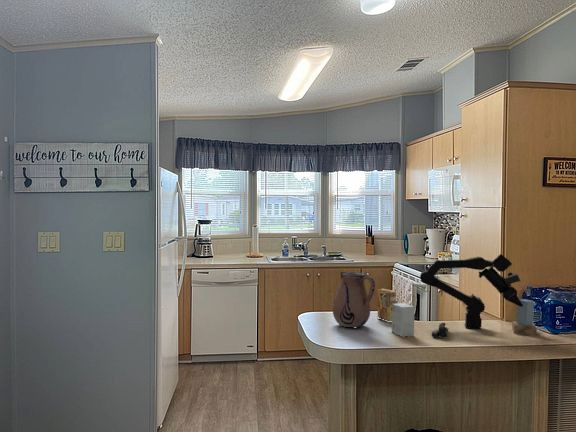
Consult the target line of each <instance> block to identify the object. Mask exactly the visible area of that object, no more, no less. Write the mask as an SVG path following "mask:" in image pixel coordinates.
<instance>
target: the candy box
mask: <svg viewBox="0 0 576 432" xmlns="http://www.w3.org/2000/svg"><path fill="white" fill-rule="evenodd" d="M393 304H397V291H396V290H391V289H387V288H379V289H377V318H378V317H379V318H381V319H384V320H387V321H392V306H393Z"/></svg>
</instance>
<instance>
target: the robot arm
mask: <svg viewBox="0 0 576 432" xmlns="http://www.w3.org/2000/svg"><path fill="white" fill-rule="evenodd" d="M512 265H513V263H512V262H511V261H510V259H508V258H506V257H505V256H504V254H503V253H500V254H499V255H498V256H496V257H495V259H493V260H487V259H485V258H483V257H482V256H475V257H470V258H466V259H465V258H464V259H444V260H441V259H437V260H435V261H434V262H433V263H432V264H431V265H430V266H429V267H428V268H427V269H426V270H422V272H421V273H420V275H419V277H420V278H419V279H420V281H421V283H423V284H424V285H427V286H431V287H435V288H437V289H438V290H440V291H442V292H444V293H446V294H447V295H449V296H451V297H453V298H455V299H456V300H458V301H460V302H462V303H463V304H464V305H466V307H465V311H466V313H465V314H464V317H465V318H464V321H465V322H464V327H465V329H472V330H473V329H474V330H481V329H482V318H481V313H483V312H484V311H485V309H486V306H485V303H484V302H483V301H482V298H481V297H479V296H476V295H475V294H474V293H471V295H468V294H466V293H464V292H462V291H460V290H458V289H456V288H455V287H454V286H452V285H450V284H447V283H446V282H444V281H443V280H441V279H439V278H438V277H437V276H436V275H437V273H439V271H440V270H441V269H465V268H466V269H470V270H471V269H472V270H478V278H479V279H481V278H482V277H484V278H485V279H486V280H487V281H488V282H489V283H490V284H491V286H493V287H494V288H495V289H496V290H497V292H498V293H499V294H500V295H501V297H502V298H504V299H505V301H508V302H510V303H512V304H514V305H516V306H517V307H518V306H520V307H522V306H523V304H522V303H521V301H520V300H521V299H520V298H519V297H518V290H517V289H516V288H515V286H512V284H516V283H518V282H521V279H520V277H519V274H518V273H512V272H507V276H505V277H504V276H502V275H501V274H500V272H502V273H504V272H505V271H507V269H509V268H510V267H511V266H512Z"/></svg>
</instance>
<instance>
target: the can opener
mask: <svg viewBox="0 0 576 432" xmlns="http://www.w3.org/2000/svg"><path fill="white" fill-rule="evenodd" d="M448 331H449V328H448V327H446V322H440V323H439V325H438V330H433V331H432V332H431V336H432V337H433V338H442V339H445V338H448V337H449V336H448Z"/></svg>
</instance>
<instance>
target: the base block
mask: <svg viewBox="0 0 576 432" xmlns="http://www.w3.org/2000/svg"><path fill="white" fill-rule="evenodd" d="M511 323H512V324H511V329H512V332H513V334H516V335H518V334H519V335H525V336H534V337H536V336H537V335H538V334H537V329H538V328H537V326H536V323H534V322H533V325H529V326H525V325H521V324H518V323H517V320H516V321H515V320H512V321H511Z"/></svg>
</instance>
